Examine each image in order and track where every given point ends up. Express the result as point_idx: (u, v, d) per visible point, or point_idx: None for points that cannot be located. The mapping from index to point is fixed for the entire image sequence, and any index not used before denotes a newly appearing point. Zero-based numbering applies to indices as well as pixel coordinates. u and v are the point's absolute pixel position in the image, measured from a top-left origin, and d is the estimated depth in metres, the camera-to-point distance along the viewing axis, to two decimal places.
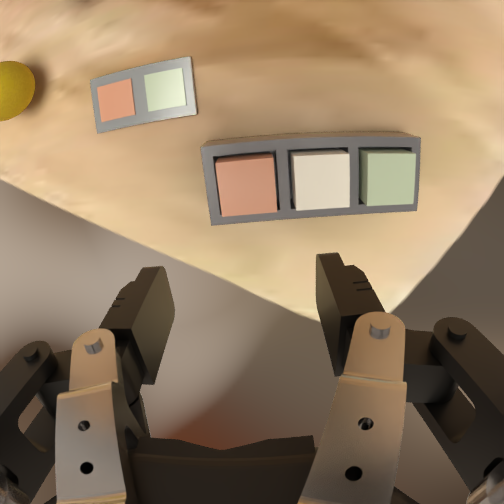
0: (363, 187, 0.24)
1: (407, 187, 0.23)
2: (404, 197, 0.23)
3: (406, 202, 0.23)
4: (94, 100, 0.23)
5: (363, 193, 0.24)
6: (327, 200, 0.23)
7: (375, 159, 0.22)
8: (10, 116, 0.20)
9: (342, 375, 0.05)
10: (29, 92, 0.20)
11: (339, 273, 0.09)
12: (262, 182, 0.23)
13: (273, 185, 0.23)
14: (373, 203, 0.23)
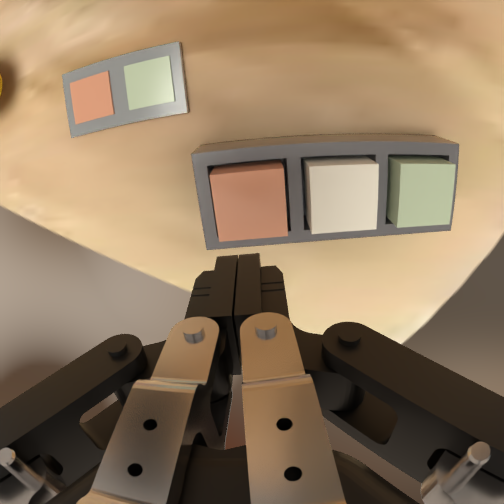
0: (392, 204, 0.19)
1: (444, 204, 0.18)
2: (440, 216, 0.18)
3: (441, 222, 0.18)
4: (67, 98, 0.19)
5: (392, 211, 0.19)
6: (350, 221, 0.18)
7: (409, 171, 0.17)
8: None
9: (243, 384, 0.05)
10: None
11: (251, 273, 0.10)
12: (269, 199, 0.18)
13: (283, 203, 0.18)
14: (404, 224, 0.18)
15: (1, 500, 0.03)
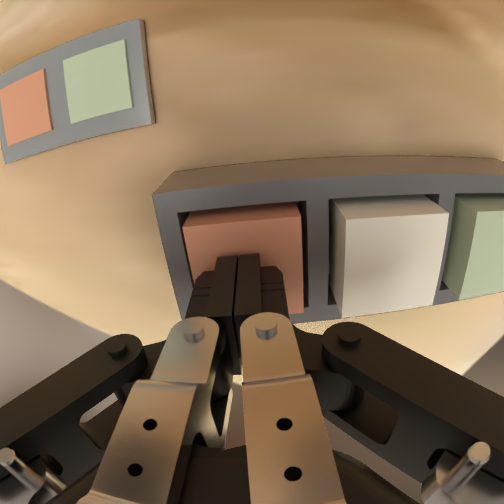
0: (454, 265, 0.12)
1: None
2: None
3: None
4: None
5: (452, 274, 0.12)
6: (398, 298, 0.12)
7: (486, 222, 0.10)
8: None
9: (243, 384, 0.05)
10: None
11: (251, 273, 0.10)
12: (277, 264, 0.12)
13: (299, 268, 0.12)
14: (468, 295, 0.12)
15: (1, 500, 0.03)
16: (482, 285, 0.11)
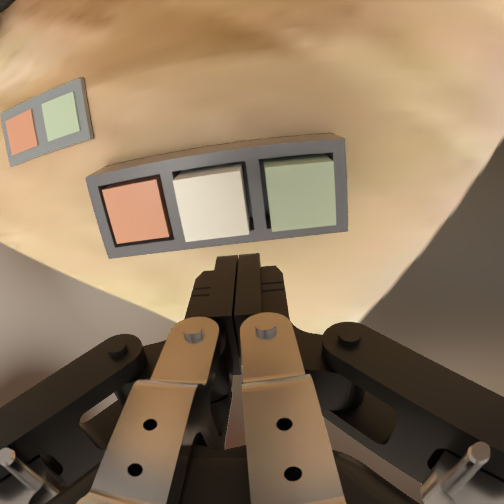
0: None
1: (325, 205, 0.19)
2: (322, 217, 0.20)
3: (326, 223, 0.20)
4: (5, 134, 0.20)
5: None
6: (220, 228, 0.20)
7: (275, 174, 0.18)
8: None
9: (243, 384, 0.05)
10: None
11: (251, 273, 0.10)
12: (149, 206, 0.20)
13: (160, 208, 0.21)
14: (280, 228, 0.20)
15: (1, 500, 0.03)
16: (291, 221, 0.20)
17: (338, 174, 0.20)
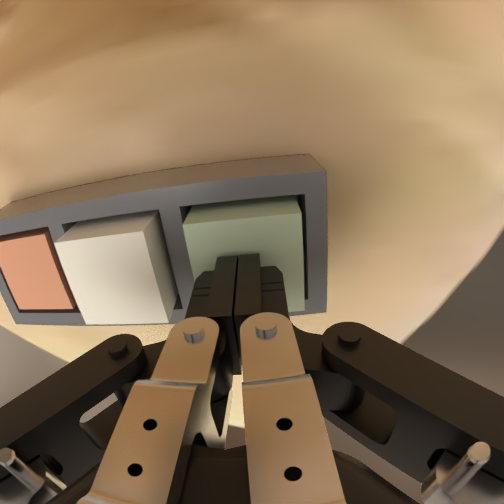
0: None
1: (286, 282, 0.12)
2: None
3: (288, 309, 0.12)
4: None
5: None
6: (126, 312, 0.12)
7: (201, 235, 0.11)
8: None
9: (243, 384, 0.05)
10: None
11: (251, 274, 0.10)
12: (43, 269, 0.13)
13: (56, 273, 0.13)
14: None
15: (1, 500, 0.03)
16: None
17: (313, 229, 0.12)
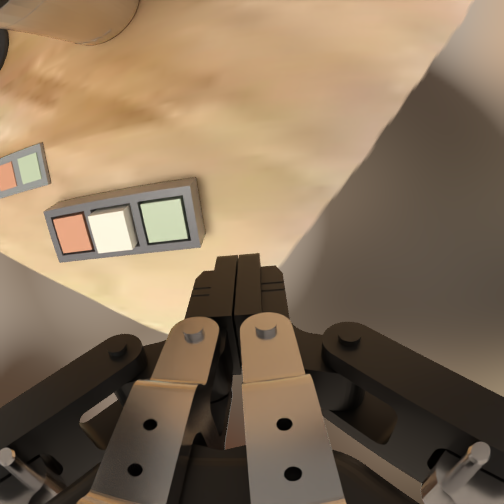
0: None
1: (178, 226, 0.31)
2: (178, 234, 0.31)
3: (181, 237, 0.31)
4: None
5: None
6: (116, 245, 0.30)
7: (147, 208, 0.30)
8: None
9: (243, 384, 0.05)
10: None
11: (251, 273, 0.10)
12: (79, 231, 0.31)
13: (85, 232, 0.31)
14: (153, 240, 0.31)
15: (1, 500, 0.03)
16: (159, 236, 0.31)
17: (188, 209, 0.30)
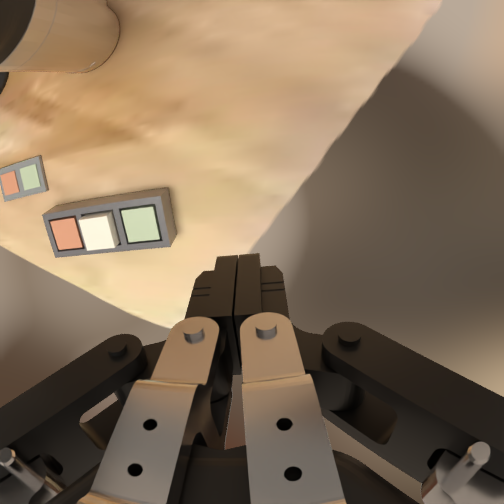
0: None
1: (152, 229, 0.36)
2: (152, 235, 0.37)
3: (154, 238, 0.37)
4: (0, 182, 0.36)
5: None
6: (101, 244, 0.36)
7: (126, 213, 0.35)
8: None
9: (243, 384, 0.05)
10: None
11: (251, 273, 0.10)
12: (72, 231, 0.36)
13: (77, 232, 0.36)
14: (132, 240, 0.37)
15: (1, 500, 0.03)
16: (136, 237, 0.37)
17: (159, 215, 0.36)
